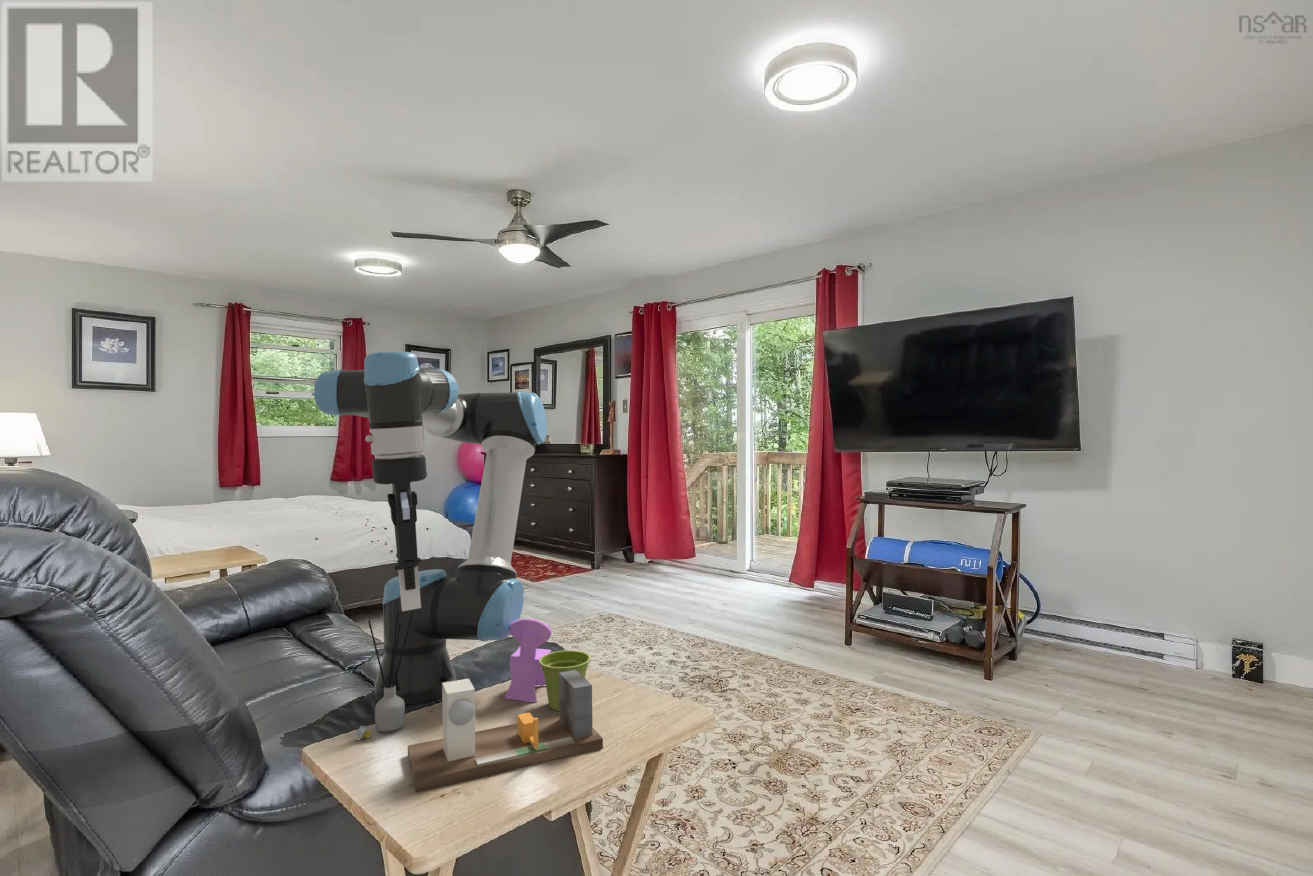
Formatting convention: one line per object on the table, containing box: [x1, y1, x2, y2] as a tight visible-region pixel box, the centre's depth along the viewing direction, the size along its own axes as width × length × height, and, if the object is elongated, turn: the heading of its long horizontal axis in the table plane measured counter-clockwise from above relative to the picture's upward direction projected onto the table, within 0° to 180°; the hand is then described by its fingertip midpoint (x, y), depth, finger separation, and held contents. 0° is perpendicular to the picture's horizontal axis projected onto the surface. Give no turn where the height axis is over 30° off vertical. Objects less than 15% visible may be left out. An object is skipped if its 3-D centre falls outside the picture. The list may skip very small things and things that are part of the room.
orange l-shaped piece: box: [516, 712, 539, 749], centre depth 101 cm, size 8×2×5 cm, turn 26°
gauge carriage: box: [441, 678, 476, 762], centre depth 97 cm, size 6×4×10 cm
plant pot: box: [539, 650, 591, 712], centre depth 119 cm, size 9×9×9 cm
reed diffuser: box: [355, 611, 414, 740], centre depth 108 cm, size 10×7×20 cm
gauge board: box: [407, 670, 604, 793], centre depth 101 cm, size 12×28×10 cm, turn 116°
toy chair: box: [504, 617, 553, 703], centre depth 125 cm, size 8×9×15 cm
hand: (411, 608), depth 98 cm, fingers closed
